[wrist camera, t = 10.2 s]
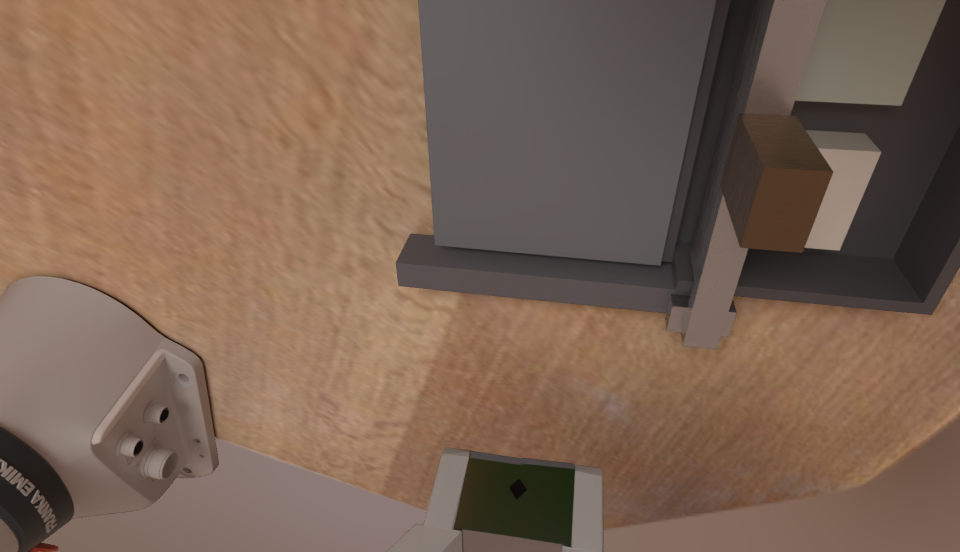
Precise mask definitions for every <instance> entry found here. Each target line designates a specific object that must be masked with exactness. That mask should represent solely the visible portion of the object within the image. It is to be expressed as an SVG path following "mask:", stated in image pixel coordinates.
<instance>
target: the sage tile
mask: <svg viewBox="0 0 960 552" xmlns="http://www.w3.org/2000/svg"><path fill="white" fill-rule="evenodd" d="M945 2H946V0H826V3H825V6H824V9H823V12H822V16H821V19H820V22H819V25H818V28H817V32H816V35H815V38H814V41H813V44H812V48H811V51H810V54H809V57H808V60H807V63H806V67H805V70H804V73H803V76H802V79H801V83H800V86H799V89H798V92H797V95H796V99H795V101H814V102H834V103H855V104H876V105H896V106H901V105H902V103H903V100H904V98H905V96H906V93H907V91H908V89H909V86H910V84H911V82H912V79H913V77H914V75H915V72H916V70H917V68H918V65H919V63H920V60H921V58H922V56H923V53H924V51H925V49H926V46H927V44H928V42H929V39H930V37H931V35H932V32H933V30H934V28H935V25H936V23H937V21H938V18H939V16H940V14H941V11H942V9H943V6H944V4H945Z"/></svg>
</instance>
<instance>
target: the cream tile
mask: <svg viewBox="0 0 960 552" xmlns="http://www.w3.org/2000/svg"><path fill="white" fill-rule="evenodd" d="M806 132H807V133H808V135H809V136H810V138H811V139H812V141H813V142H814V144H815V145H816V146H817V148H818V149H819V151H820V152H821V154H822V155H823V157H824V158H825V160H826V161H827V163H828V164H829V166H830V167H831V169H832V170H833V174H832V177H831V180H830V182H829V185H828V187H827V190H826V193H825V195H824V198H823V201H822V203H821V206H820V208H819V211H818V214H817V216H816V219H815V222H814V224H813V227H812V229H811V232H810V235H809V237H808V240H807V242H806V245H805V248H814V249H826V250H838V251H840V248H841V246H842V244H843V241H844V239H845V237H846V234H847V232H848V229H849V227H850V225H851V222H852V220H853V218H854V215H855V213H856V211H857V208H858V206H859V204H860V201H861V199H862V197H863V194H864V192H865V190H866V187H867V185H868V183H869V180H870V178H871V175H872V173H873V171H874V168H875V166H876V164H877V161H878V159H879V157H880V154H881V151H880V150H879V149H878V148H877V146H876V145H875V144H874V143H873V142H872V141H871V139H870V138H869V137H868V136H867V135H866V134H865V133H850V132H832V131H814V130H806Z"/></svg>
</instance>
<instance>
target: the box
mask: <svg viewBox="0 0 960 552" xmlns="http://www.w3.org/2000/svg"><path fill="white" fill-rule="evenodd" d="M751 2H752V0H716V5H715V9H714V14H713V19H712V24H711V28H710V33H709V38H708V42H707V47H706V52H705V57H704V61H703V66H702V71H701V76H700V80H699V85H698V90H697V95H696V99H695V104H694V109H693V114H692V118H691V123H690V128H689V133H688V137H687V142H686V147H685V152H684V156H683V161H682V166H681V171H680V175H679V180H678V185H677V189H676V194H675V199H674V204H673V208H672V213H671V218H670V223H669V227H668V232H667V237H666V242H665V246H664V251H663V256H662V262H672V268H673V274H674V281H675V288H676V290H678V291H689V292H691V291H692V287H693V283H694V276H693V270H692V265H691V260H690V251H691V247H692V243H693V239H694V235H695V231H696V227H697V223H698V219H699V215H700V211H701V206H702V202H703V198H704V194H705V190H706V186H707V182H708V178H709V174H710V170H711V165H712V161H713V157H714V153H715V149H716V145H717V141H718V137H719V133H720V129H721V124H722V120H723V116H724V112H725V108H726V104H727V100H728V96H729V92H730V88H731V83H732V79H733V75H734V71H735V67H736V63H737V59H738V55H739V51H740V47H741V43H742V38H743V34H744V30H745V26H746V22H747V18H748V14H749V10H750V6H751ZM790 116H796V117H797V118H798V120H799V121H800V123H801V124H802V126H803V127H804V129H805V130H814V131H832V132H850V133H865V134H866V135H867V136H868V137H869V138H870V139H871V141H872V142H873V143H874V144H875V145H876V146H877V148H878V149H879V150H880V151H881V154H880V157H879V159H878V161H877V164H876V166H875V168H874V171H873V173H872V175H871V178H870V180H869V183H868V185H867V187H866V190H865V192H864V194H863V197H862V199H861V201H860V204H859V206H858V208H857V211H856V213H855V215H854V218H853V220H852V222H851V225H850V227H849V229H848V232H847V234H846V237H845V239H844V241H843V244H842V246H841V248H840V251H838V250H826V249H814V248H804V250H803V253H797V252H785V251H773V250H762V249H750V248H748V251H747V255H746V258H745V261H744V264H743V267H742V271H741V274H740V277H739V280H738V283H737V287H736V290H735V293H734V296H741V297H751V298H761V299H772V300H782V301H792V302H803V303H813V304H824V305H834V306H844V307H855V308H865V309H876V310H886V311H896V312H907V313H917V314H928V315H932V314H933V312H934V310H935V309H936V307H937V305H938V304H939V302H940V300H941V298H942V297H943V295H944V293H945V292H946V290H947V288H948V286H949V285H950V283H951V281H952V280H953V278H954V276H955V274H956V273H957V271H958V269H959V268H960V0H946V2H945V4H944V6H943V9H942V11H941V14H940V16H939V18H938V21H937V23H936V25H935V28H934V30H933V32H932V35H931V37H930V39H929V42H928V44H927V46H926V49H925V51H924V53H923V56H922V58H921V60H920V63H919V65H918V68H917V70H916V72H915V75H914V77H913V79H912V82H911V84H910V86H909V89H908V91H907V93H906V96H905V98H904V100H903V103H902V105H901V106H896V105H876V104H855V103H834V102H814V101H795V102H794V105H793V108H792V111H791V114H790Z"/></svg>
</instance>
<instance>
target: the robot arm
mask: <svg viewBox="0 0 960 552" xmlns="http://www.w3.org/2000/svg"><path fill="white" fill-rule="evenodd" d="M218 465H219V461H218V454H217V448H216V442H215V436H214V430H213V423H212V417H211V411H210V405H209V399H208V393H207V387H206V381H205V375H204V369H203V364H202V362H201V360H200V359H199V358H198V357H197V356H196V355H195V354H194V353H192V352H191V351H189V350H187V349H186V348H184V347H182V346H180V345H179V344H177V343H175V342H173V341H171V340H169V339H167V338H165V337H164V336H162V335H161V334H159V333H158V332H157V331H156V330H154V329H153V328H152V327H151V326H150V325H149V324H147V323H146V322H145V321H144V320H143V319H142V318H140V317H139V316H138V315H137V314H135V313H134V312H133V311H131V310H130V309H128V308H127V307H125V306H124V305H122V304H121V303H119V302H118V301H116V300H114V299H113V298H111V297H109V296H107V295H105V294H103V293H101V292H99V291H97V290H95V289H93V288H90V287H88V286H85V285H82V284H80V283H77V282H73V281H70V280H66V279H61V278H56V277H47V276H34V277H27V278H23V279H20V280H18V281H16V282H14V283H12V284H11V285H10V286H9V287H8V288H7V289H6V290H5V292H4V293H3V295H2V296H1V298H0V552H39V551H41V552H51V551H57V550H58V546H55V545H50V544H45V543H41V542H42V541H44V540H45V539H46V538H48V537H49V536H50V535H52V534H53V533H54V532H56V531H57V530H58V529H59V528H61V527H62V526H63V525H65V524H66V523H67V522H69V521H70V520H71V519H75V518H83V517H90V516H98V515H106V514H115V513H124V512H132V511H137V510H140V509H143V508H146V507H148V506H149V505H151V504H153V503H154V502H155V501H157V500H158V499H159V498H160V497H161V496H162V495H163V494H164V493H165V491H166V490H167V489H168V488H169V487H170V485H171V484H172V483H173V481H174V480H175V479H176V478H195V477H202V476H206V475H209V474H211V473H213V471H214V470H215V469H216V468H217V466H218ZM603 534H604V527H603V472H602V469H601V468H598V467H589V466H581V465H575V466H574V464H572V463H563V462H554V461H546V460H537V459H529V458H522V459H521V458H514V457H508V456H501V455H495V454H488V453H482V452H475V451H470V450H462V449H455V448H448V447H446V448H445V450H444V452H443V454H442V457H441V460H440V464H439V468H438V472H437V475H436V479H435V483H434V487H433V490H432V494H431V498H430V502H429V505H428V509H427V513H426V517H425V520H424V524H423V525H422V524H415V525H414V526H413V527H412V528H411V529H410V530H409V531H408V532H407V533H406V534H405V535H403V537H401V538H400V539H399V540H398V541H397V542H396V543H395V544H394V545H393V546H392V547H391V548H390V549H389V550H388V551H387V552H604V537H603V536H604V535H603Z"/></svg>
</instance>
